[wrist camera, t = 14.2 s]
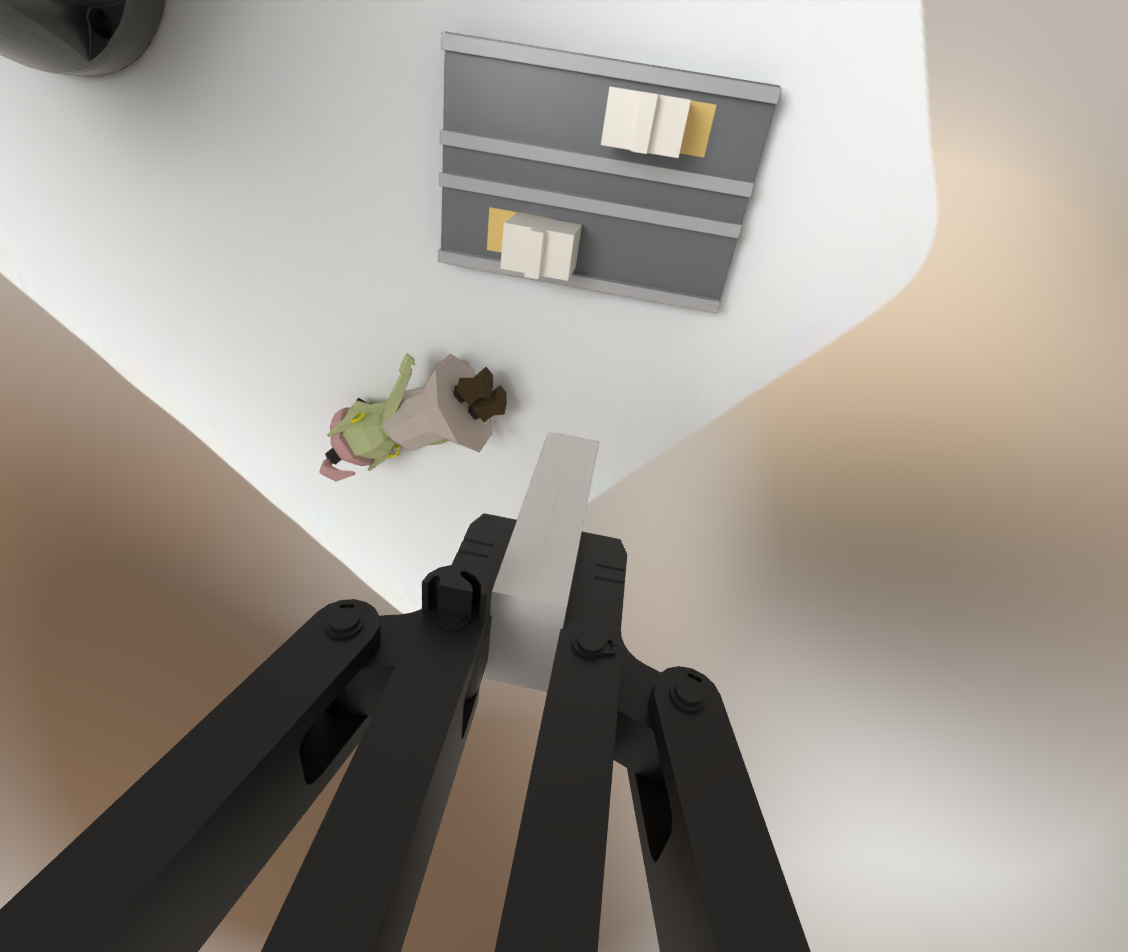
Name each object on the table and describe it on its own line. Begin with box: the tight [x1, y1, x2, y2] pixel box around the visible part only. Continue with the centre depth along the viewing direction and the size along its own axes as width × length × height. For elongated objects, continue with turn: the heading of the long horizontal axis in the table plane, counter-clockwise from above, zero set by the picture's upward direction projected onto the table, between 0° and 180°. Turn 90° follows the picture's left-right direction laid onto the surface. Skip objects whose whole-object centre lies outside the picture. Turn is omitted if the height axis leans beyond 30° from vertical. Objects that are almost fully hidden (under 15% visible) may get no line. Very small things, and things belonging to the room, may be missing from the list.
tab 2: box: [601, 87, 691, 158], centre depth 30 cm, size 4×2×4 cm, turn 82°
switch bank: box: [438, 32, 782, 313], centre depth 34 cm, size 18×12×2 cm, turn 82°
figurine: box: [319, 354, 507, 481], centre depth 43 cm, size 9×7×15 cm
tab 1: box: [500, 213, 582, 281], centre depth 34 cm, size 4×2×4 cm, turn 82°
